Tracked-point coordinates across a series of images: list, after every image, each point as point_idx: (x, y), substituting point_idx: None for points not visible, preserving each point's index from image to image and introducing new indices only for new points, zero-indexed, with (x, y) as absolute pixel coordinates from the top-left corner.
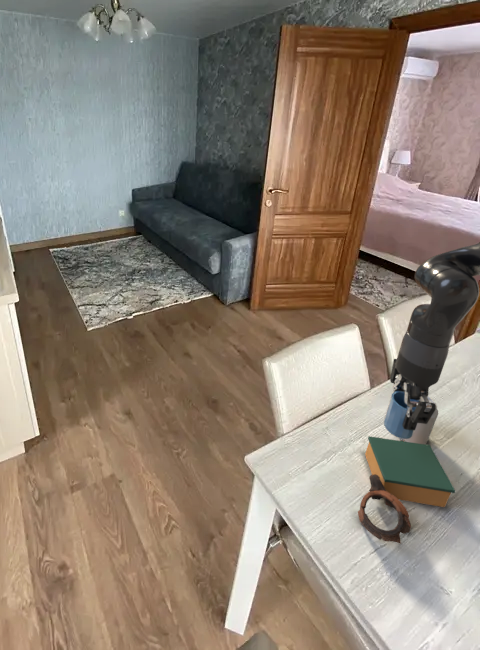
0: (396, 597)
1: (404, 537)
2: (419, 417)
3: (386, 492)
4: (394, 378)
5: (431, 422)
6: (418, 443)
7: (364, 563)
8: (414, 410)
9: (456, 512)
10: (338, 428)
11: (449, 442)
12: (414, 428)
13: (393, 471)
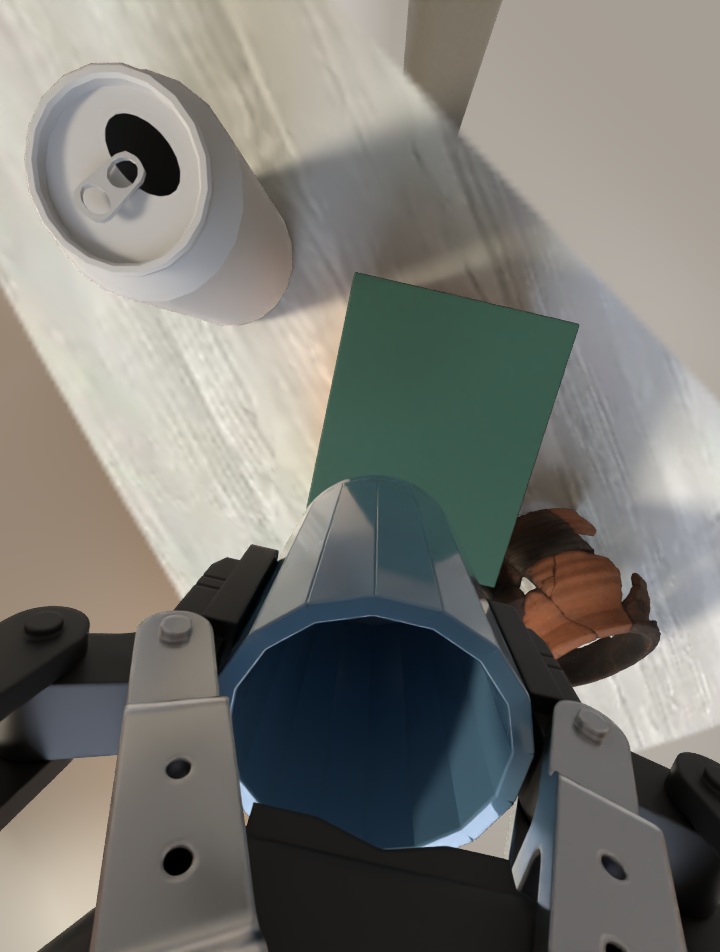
0: (708, 643)
1: (590, 537)
2: (713, 888)
3: (539, 610)
4: (19, 799)
5: (252, 188)
6: (289, 265)
7: (626, 678)
8: (519, 756)
9: (550, 305)
10: (209, 545)
11: (268, 79)
12: (546, 655)
13: (466, 536)
